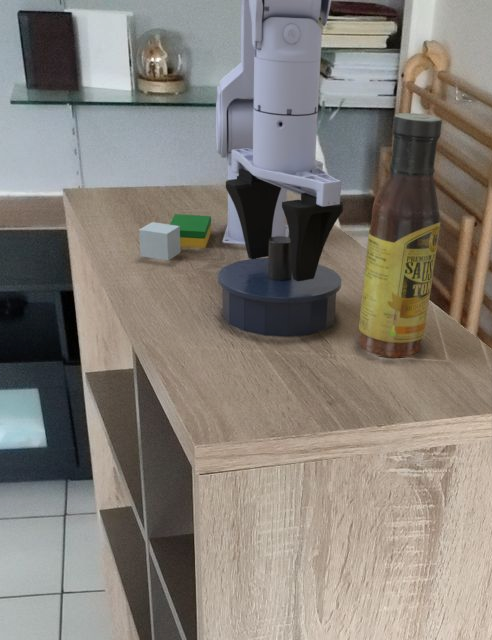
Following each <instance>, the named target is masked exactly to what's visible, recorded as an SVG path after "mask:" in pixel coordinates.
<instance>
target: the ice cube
mask: <svg viewBox="0 0 492 640" xmlns="http://www.w3.org/2000/svg"><path fill="white" fill-rule="evenodd" d="M138 233H139V248H140V249H139V251H140V257H144V258H150V259H155V260H157V259H158V260H161V261H170V260H171V259H173V258H174V257H176V256H178V255H179V254H181V246H180V226H176V225H170V223H169V224H168V223H161V222H154V221H152V222H149V223H148V224H146V225H144V226H143V227H141V228H139V229H138Z"/></svg>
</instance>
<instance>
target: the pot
mask: <svg viewBox="0 0 492 640" xmlns="http://www.w3.org/2000/svg"><path fill="white" fill-rule="evenodd" d="M336 303H337V293H336V294H334V295H332V296H330V297H327V298H324V299H321V300H316V301H310V302H301V303H273V302H263V301H257V300H252V299H247V298H243V297H240V296H237V295H234V294H232V293H230V292H228V291H226V290H225V289H223V288H222V318H223V319H224V320H225V321H226V322H227V324H228V325H230V326H232V327H234V328H236V329H238V330H241V331H242V332H246V333H251V334H256V335H259V336H266V337H267V336H268V337H284V338H290V337H291V338H292V337H300V336H302V337H303V336H309V335H313V334H316V333H320V332H323V331H326V330H327V329H328V328H330V327H331V326H332V325H333V324H335V318H336V317H335V316H336Z"/></svg>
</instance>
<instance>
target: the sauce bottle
mask: <svg viewBox="0 0 492 640" xmlns="http://www.w3.org/2000/svg"><path fill="white" fill-rule="evenodd" d="M442 123H443V120H442V118H441V117H439V116H437V115H433V114H427V113H426V114H425V113H416V112H415V113H414V112H413V113H412V112H403V113H401V112H399V113H395V114H394V116H393V123H392V135H393V141H392V142H393V143H392V151H391V158H390V159H391V161H390V163H389V172H390V173H389V175H388V176H387V178H386V180H385V181H384V182H383V184H382V185H381V186H380V188H379V189H378V191H377V193H376V195H375V197H374V199H373V204H372V211H371V219H370V229H369V230H368V235H367V236H368V237H367V245H366V256H365V264H364V275H363V285H362V294H361V303H360V313H359V324H358V331H360V332H359V338H358V339H359V340H358V341H359V342H358V343H359V346H360V347H361V349H362V350H365V351H367V352H369V353H371V354H374V355H376V356H377V357H378V358H383V359H406V357H407V356H410V355H414V354H416V353H418V352H419V351H420V348H421V346H422V345H421V344H422V339H423V338H424V336H425V332H426V325H427V318H428V312H429V304H430V298H431V290H432V285H433V277H434V271H435V265H436V264H435V262H436V255H437V249H438V243H439V236H440V229H441V222H442V221H441V216H440V208H439V203H438V196H437V191H436V184H435V178H434V174H435V160H436V153H437V145H438V140H439V139H440V138H441V135H442Z"/></svg>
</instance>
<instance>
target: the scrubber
mask: <svg viewBox="0 0 492 640" xmlns="http://www.w3.org/2000/svg"><path fill="white" fill-rule="evenodd" d="M169 225H176V226H180V248H184V247H185V248H199V249H206V247H207V245H208V242H209V239H210V236H211V235H212V216H211V215H200V214H199V215H198V214H197V215H196V214H182V213H181V214H179V213H175V214H174V215H173V217H172V219H171V221H170V223H169Z"/></svg>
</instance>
